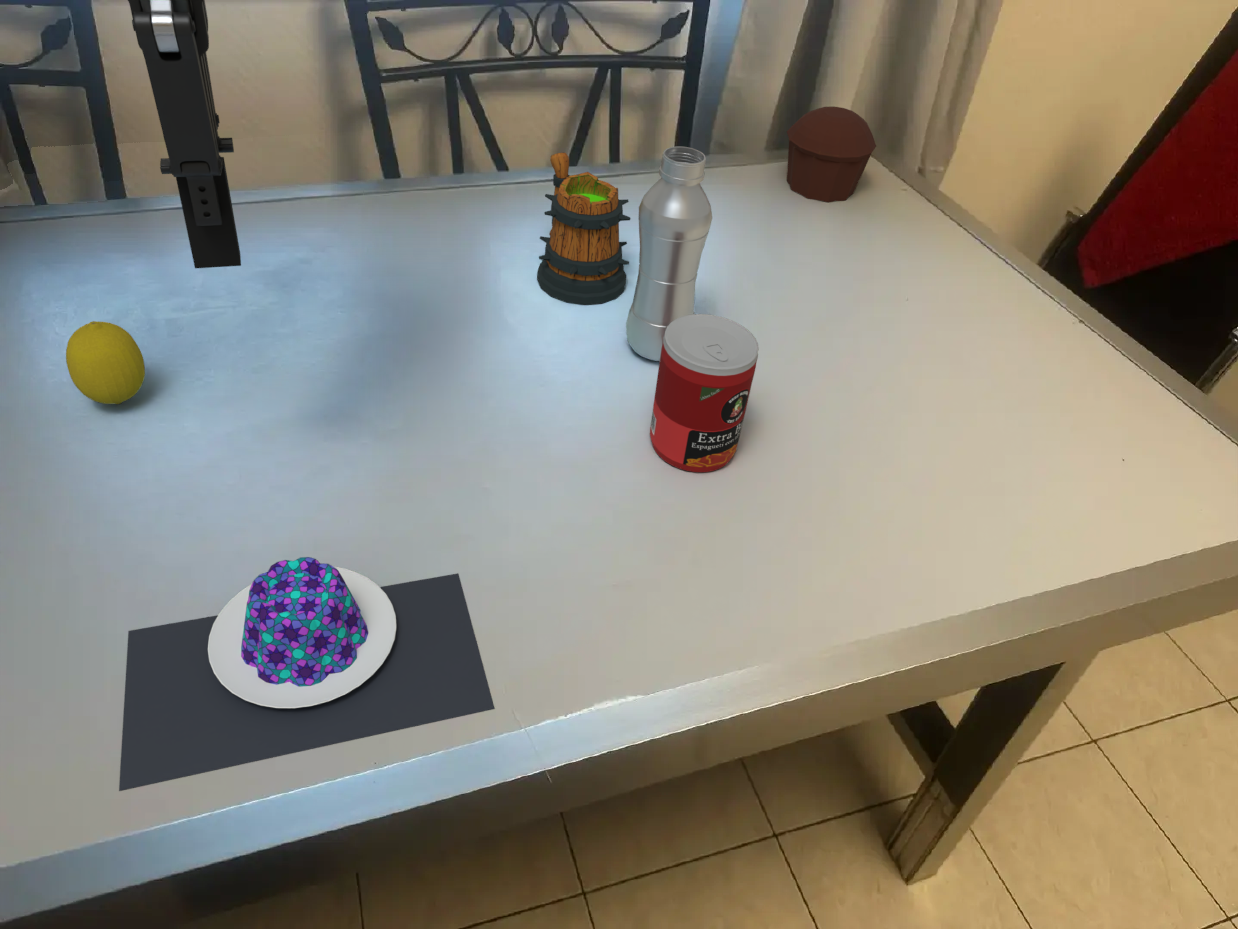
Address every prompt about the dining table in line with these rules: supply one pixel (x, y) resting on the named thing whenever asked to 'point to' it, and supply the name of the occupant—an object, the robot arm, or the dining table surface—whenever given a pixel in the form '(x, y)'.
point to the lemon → (105, 362)
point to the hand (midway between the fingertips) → (217, 260)
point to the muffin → (828, 153)
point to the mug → (582, 239)
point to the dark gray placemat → (247, 732)
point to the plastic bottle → (669, 249)
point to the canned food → (702, 391)
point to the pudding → (301, 635)
